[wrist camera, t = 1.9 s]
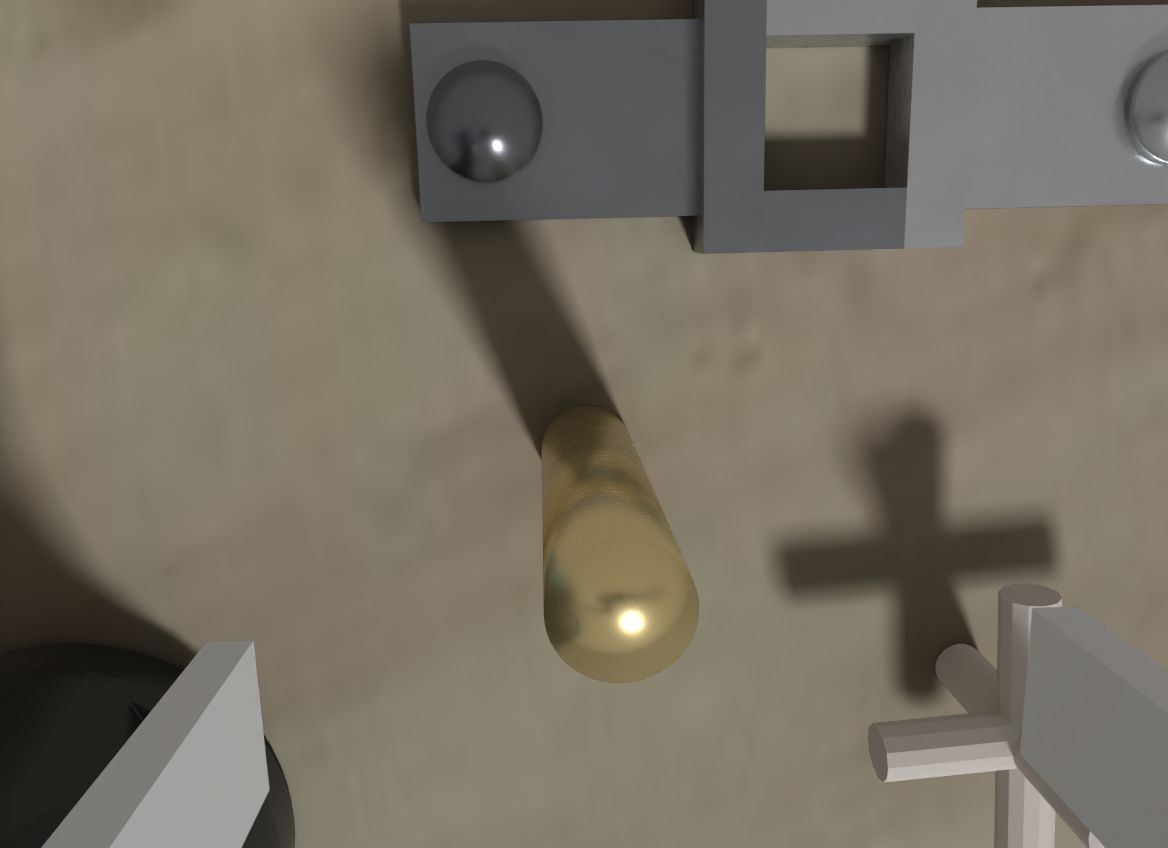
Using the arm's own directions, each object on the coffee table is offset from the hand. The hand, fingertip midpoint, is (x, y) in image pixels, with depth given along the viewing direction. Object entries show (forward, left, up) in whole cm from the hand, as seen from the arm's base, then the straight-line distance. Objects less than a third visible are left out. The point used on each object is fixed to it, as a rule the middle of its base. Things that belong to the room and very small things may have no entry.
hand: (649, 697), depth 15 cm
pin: (0, 0, -18) cm, 18 cm away
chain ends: (+8, +11, -18) cm, 22 cm away
